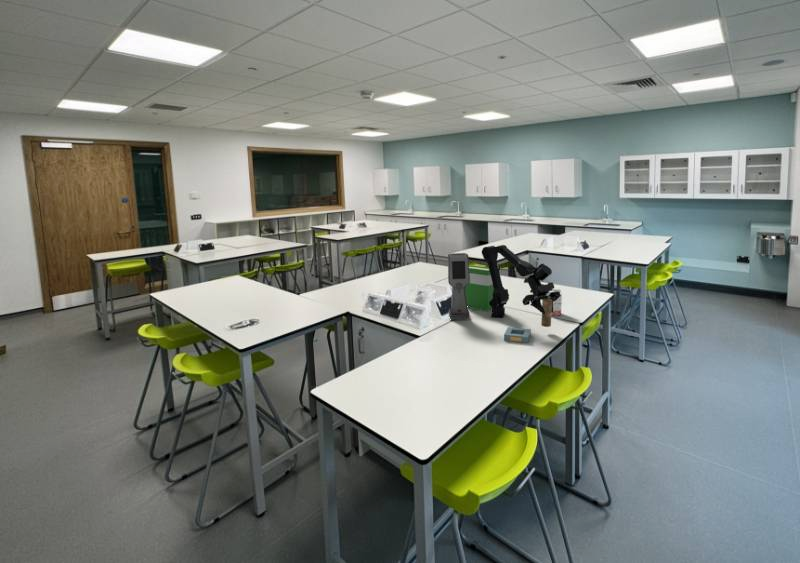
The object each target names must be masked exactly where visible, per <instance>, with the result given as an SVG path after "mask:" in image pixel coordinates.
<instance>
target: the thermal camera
mask: <svg viewBox="0 0 800 563" xmlns="http://www.w3.org/2000/svg"><path fill="white" fill-rule="evenodd" d="M469 265H470V261H469V254H468V253H467V252H463V253H462V252H460V253H449V254H447V271H448V272H447V273H448V274H447V278H448V282H447V283H448V284H449V285H450V286H451V306H450V307H449V309H448V318H449V317H450V319H451V320H450V319H449V320H450V321H469V320H471V314H470V310H469V307H467V299H466V286H467V285H468V284H469V283H470V274H469Z"/></svg>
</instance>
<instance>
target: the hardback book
mask: <svg viewBox="0 0 800 563" xmlns="http://www.w3.org/2000/svg"><path fill="white" fill-rule="evenodd" d="M469 274H470V283H469V284H468V285H467V286H466V299H467V306H468V308H470V307H472V308H471V309H475V308H476V309H475V310H480V309H481V310H480V311H484V310H486V312H489V311H492V310H491V309H492V306H490V305H489V302H490V301H491V300H492V299H493V295H492V294H493V290H494V287H493V283H492V279H491V275H490V271H489V266H488V267H487V266H480V265H479V266H478V265H471V264H469Z"/></svg>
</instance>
